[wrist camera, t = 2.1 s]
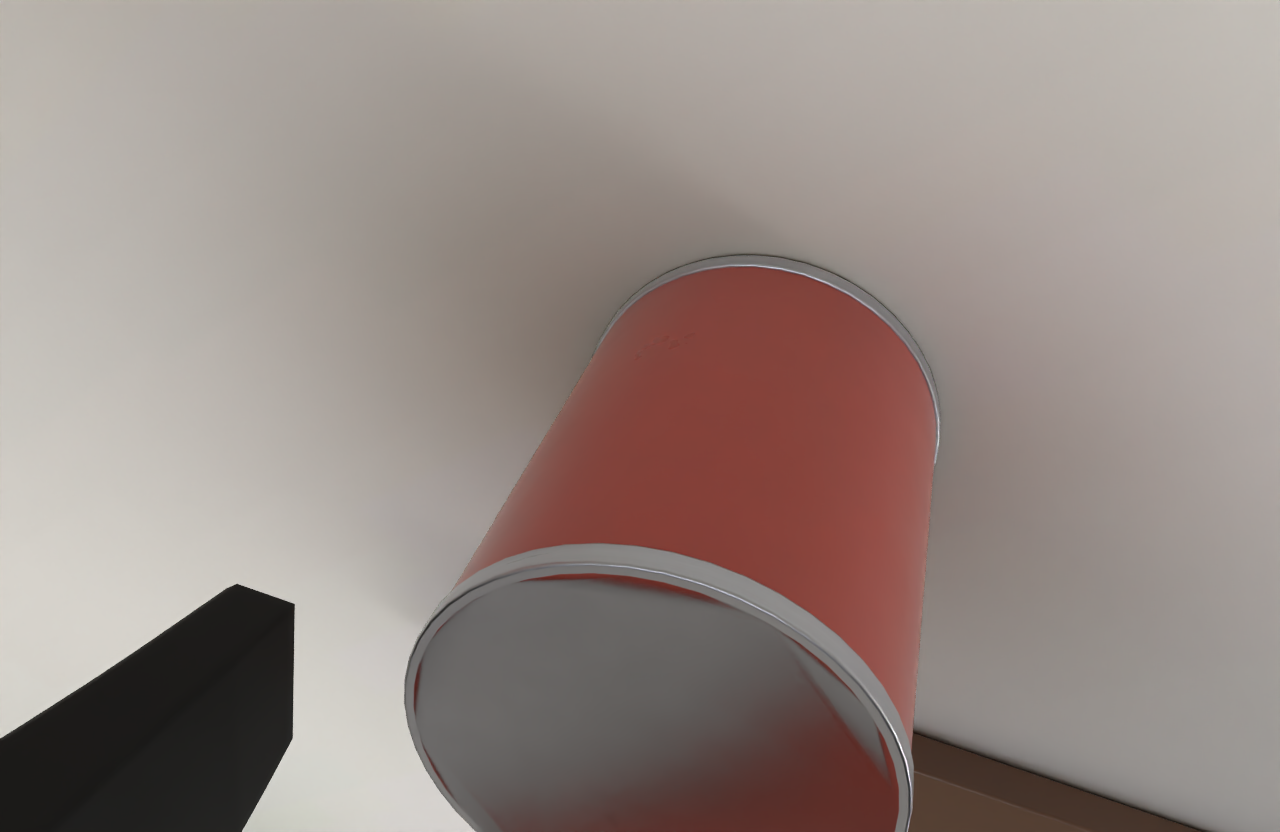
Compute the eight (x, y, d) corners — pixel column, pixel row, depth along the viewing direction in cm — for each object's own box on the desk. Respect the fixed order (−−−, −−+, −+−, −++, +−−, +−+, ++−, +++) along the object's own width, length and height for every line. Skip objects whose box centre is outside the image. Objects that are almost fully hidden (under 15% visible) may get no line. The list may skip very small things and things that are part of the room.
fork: (1375, 875, 18) (1390, 920, 17) (1296, 952, 19) (1306, 997, 18) (473, 568, 19) (455, 598, 19) (459, 660, 21) (443, 691, 20)
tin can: (997, 319, 14) (997, 681, 9) (874, 596, 17) (821, 991, 12) (624, 208, 15) (423, 489, 10) (566, 494, 18) (388, 828, 13)
